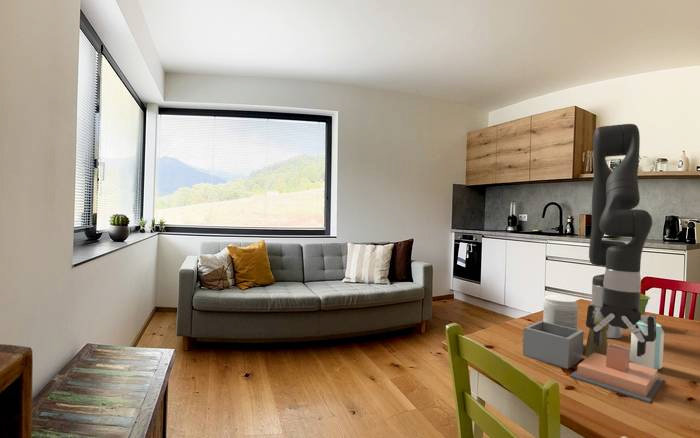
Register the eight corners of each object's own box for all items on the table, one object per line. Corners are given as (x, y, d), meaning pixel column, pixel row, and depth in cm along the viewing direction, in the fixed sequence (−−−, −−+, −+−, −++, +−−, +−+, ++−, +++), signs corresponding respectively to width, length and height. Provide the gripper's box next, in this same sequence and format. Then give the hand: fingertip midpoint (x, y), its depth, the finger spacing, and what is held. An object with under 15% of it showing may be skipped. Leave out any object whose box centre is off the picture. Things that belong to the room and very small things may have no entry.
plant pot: (611, 316, 151) (612, 290, 151) (647, 322, 144) (649, 294, 144) (611, 323, 142) (612, 295, 142) (650, 330, 135) (651, 300, 135)
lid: (593, 361, 102) (594, 334, 102) (657, 379, 92) (658, 350, 92) (577, 374, 93) (578, 345, 93) (645, 396, 83) (647, 364, 83)
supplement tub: (582, 345, 116) (584, 299, 116) (567, 350, 111) (569, 303, 111) (551, 336, 124) (553, 293, 124) (536, 340, 119) (538, 296, 119)
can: (623, 359, 105) (625, 319, 105) (648, 361, 105) (650, 320, 105) (642, 370, 98) (644, 326, 98) (669, 371, 98) (671, 327, 98)
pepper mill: (579, 351, 111) (581, 315, 110) (598, 351, 111) (600, 316, 111) (594, 359, 105) (596, 322, 104) (614, 359, 105) (616, 322, 105)
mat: (591, 359, 105) (591, 358, 105) (663, 380, 93) (663, 378, 93) (569, 376, 93) (569, 375, 93) (649, 403, 81) (649, 401, 81)
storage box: (539, 345, 114) (540, 320, 114) (582, 358, 105) (583, 330, 105) (522, 354, 107) (523, 327, 106) (567, 368, 98) (569, 339, 97)
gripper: (660, 291, 89) (657, 355, 90) (593, 281, 100) (590, 339, 100) (654, 295, 84) (651, 363, 85) (584, 284, 95) (581, 345, 95)
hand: (618, 350), depth 93 cm, fingers open, 8 cm apart
